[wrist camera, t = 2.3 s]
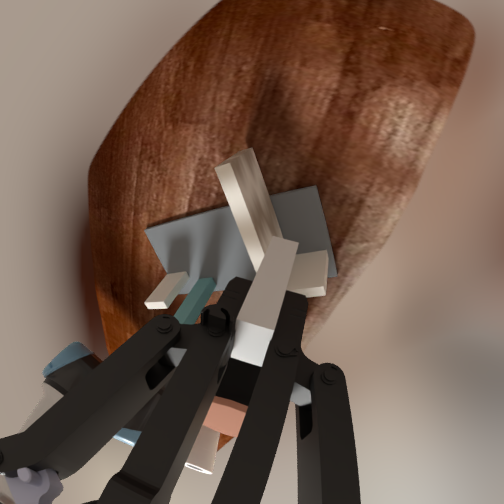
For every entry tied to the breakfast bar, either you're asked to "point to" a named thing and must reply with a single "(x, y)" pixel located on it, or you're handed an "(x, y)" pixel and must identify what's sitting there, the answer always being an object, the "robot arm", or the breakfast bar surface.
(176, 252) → the mat
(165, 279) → the fence
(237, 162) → the gate
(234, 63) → the breakfast bar surface
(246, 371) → the coffee jar
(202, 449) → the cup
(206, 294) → the bar
